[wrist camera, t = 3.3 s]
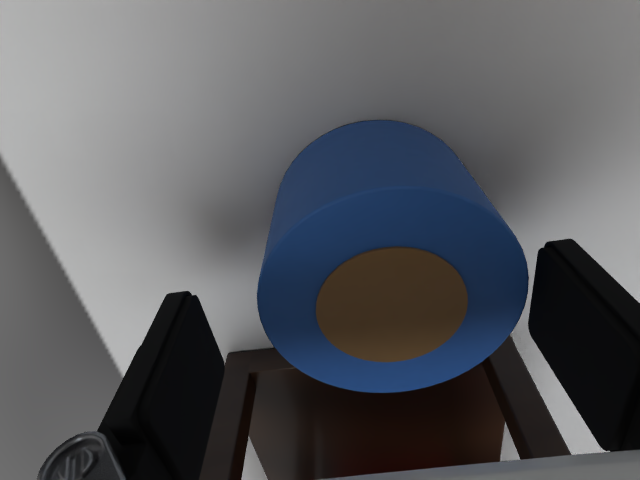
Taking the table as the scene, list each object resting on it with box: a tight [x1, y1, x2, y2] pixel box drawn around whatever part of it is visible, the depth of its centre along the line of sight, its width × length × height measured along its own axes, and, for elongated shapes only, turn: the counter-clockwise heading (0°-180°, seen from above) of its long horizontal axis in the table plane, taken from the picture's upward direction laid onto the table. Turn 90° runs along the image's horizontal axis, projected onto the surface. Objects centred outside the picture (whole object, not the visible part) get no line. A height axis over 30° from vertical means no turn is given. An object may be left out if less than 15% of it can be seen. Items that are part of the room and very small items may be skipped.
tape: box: [257, 120, 529, 393], centre depth 12 cm, size 7×7×5 cm
